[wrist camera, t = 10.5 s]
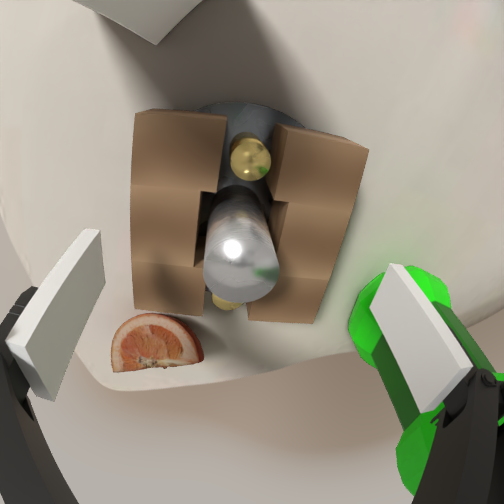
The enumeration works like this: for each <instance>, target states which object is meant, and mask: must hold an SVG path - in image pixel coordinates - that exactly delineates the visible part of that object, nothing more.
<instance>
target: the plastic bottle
mask: <svg viewBox="0 0 504 504" xmlns="http://www.w3.org/2000/svg"><path fill="white" fill-rule="evenodd" d="M404 268H405V269H406V271H407V272H408V273H409V274H410V276H411V277H412V278H413V280H414V281H415V282H416V283H417V285H418V286H419V287H420V289H421V290H422V291H423V293H424V294H425V295H426V297H427V298H428V300H429V301H430V302H431V304H432V305H433V306H434V308H435V309H436V311H437V312H438V313H439V315H440V316H441V318H442V319H443V321H444V322H445V323H446V324H447V325H449V326H450V327H451V328H452V329H453V331H454V332H455V334H456V335H457V337H458V339H459V340H460V341H461V343H462V346H464V347H465V349H466V350H467V352H468V354H469V355H470V357H471V358H472V360H473V362H474V363H475V365H476V366H477V368H478V369H481V368H484V369H487V370H489V371H490V372H492V374H493V375H494V376H495V377H496V379H497V380H498V381H504V373H496V371H495V370H494V368H493V367H492V365H491V364H490V362H489V361H488V359H487V358H486V356H485V355H484V353H483V352H482V350H481V349H480V348H479V346H478V345H477V343H476V342H475V341H474V339H473V338H472V336H471V335H470V334H469V332H468V331H467V330H466V328H465V327H464V326H463V324H462V323H461V322H460V320H459V319H458V318H457V316H456V315H455V314H454V312H453V311H452V310H451V303H450V297H449V293H448V289H447V286H446V285H445V284H444V283H443V282H442V281H441V280H440V279H439V278H437V277H435V276H434V275H432V274H430V273H428V272H426V271H424V270H422V269H420V268H417V267H414V266H407V267H404ZM385 273H386V272H384V273H381V274H379V275H378V276H377V277H376V278H375V279H373V280H372V281H371V282H370V283H369V284H368V285H367V286H366V287H365V288H364V289H363V290H362V291H361V292H360V294H359V296H358V299H357V301H356V304H355V306H354V309H353V311H352V314H351V316H350V319H349V329H348V330H349V332H350V335H351V337H352V339H353V341H354V344H355V346H356V348H357V350H358V352H359V354H360V356H361V358H362V359H363V360H364V361H366V362H367V363H368V364H369V365H371V366H373V367H375V368H376V369H378V371H379V374H380V376H381V378H382V380H383V382H384V385H385V387H386V390H387V392H388V394H389V397H390V399H391V401H392V403H393V406H394V408H395V410H396V413H397V415H398V418H399V420H400V423H401V425H402V428H403V430H404V432H403V434H402V436H401V439H400V441H399V443H398V445H397V447H396V456H397V467H398V470H399V473H400V476H401V479H402V482H403V484H404V486H405V487H406V488H407V489H408V490H409V492H410V493H411V494H412V495H413V496H415V494H416V491H417V489H418V486H419V483H420V480H421V478H422V475H423V472H424V469H425V466H426V463H427V460H428V457H429V453H430V450H431V446H432V443H433V439H434V436H435V432H436V428H437V426H435V424H436V423H437V422H438V420H439V419H436V420H435V421H434V422H433V423H432V424H431V423H430V422H431V420H432V419H433V418H434V417H435V416H436V415H437V414H438V413H439V412H440V411H441V410H442V409H443V408H444V407H445V405H444V403H443V401H442V402H441V403H440V404H439V405H438V406H437V407H436V408H435V409H434V410H433V411H429V412H425V413H420V411H419V409H418V406H417V404H416V402H415V400H414V397H413V395H412V393H411V391H410V388H409V386H408V384H407V382H406V380H405V378H404V375H403V373H402V371H401V369H400V367H399V365H398V363H397V361H396V359H395V357H394V355H393V353H392V351H391V349H390V347H389V345H388V343H387V341H386V339H385V337H384V335H383V333H382V331H381V329H380V327H379V325H378V323H377V321H376V319H375V317H374V315H373V313H372V311H371V310H370V308H369V307H370V305H371V303H372V301H373V299H374V297H375V295H376V292H377V290H378V288H379V286H380V284H381V282H382V279H383V277H384V275H385ZM503 423H504V416H503V417H502V418H501V419H500V420H499V421H498V424H499V426H500V425H502V424H503Z"/></svg>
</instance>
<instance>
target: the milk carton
mask: <svg viewBox="0 0 504 504" xmlns="http://www.w3.org/2000/svg"><path fill="white" fill-rule="evenodd" d="M73 1H75V2H77V3H79V4H81V5H83V6H85V7H87V8H89V9H91V10H93V11H95V12H97V13H99V14H101V15H103V16H105V17H107V18H109V19H111V20H112V21H114V22H116V23H118V24H120V25H121V26H123V27H125V28H127V29H129V30H130V31H132V32H134V33H135V34H137V35H139V36H141V37H142V38H144V39H146V40H147V41H149V42H151V43H152V44H154V45H157V44H158V43H159V42H160V41H161V40H162V39H163V38H164V37H165V36H166V35H167V34H168V33H169V32H170V31H171V30H172V29H173V28H174V27H175V26H176V25H177V24H178V23H179V22H180V21H181V20H182V19H183V18H184V17H185V16H186V15H187V14H188V13H189V12H190V11H191V10H192V9H193V8H195V7H196V6H197V5H198V4H199V3H200V2H201V1H202V0H73Z"/></svg>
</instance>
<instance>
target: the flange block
mask: <svg viewBox="0 0 504 504" xmlns="http://www.w3.org/2000/svg"><path fill="white" fill-rule="evenodd" d="M226 123H227V115H222V114H214V113H205V112H194V111H183V110H170V109H150V110H146V111H142V112H139V113H135V121H134V132H133V146H132V164H131V194H130V232H131V263H132V281H133V295H134V307H135V309H141V310H149V311H157V312H165V313H174V314H183V315H193V316H203V305H204V295H205V285H206V283H205V281H204V277H203V266H204V256H205V246H206V236H198V233H199V223H200V214H201V205H202V196H203V191H206V192H215V193H216V191H217V184H218V177H219V170H220V163H221V156H222V149H223V142H224V136H225V130H226ZM368 153H369V149H367V148H365V147H363V146H361V145H359V144H357V143H354V142H352V141H350V140H348V139H346V138H344V137H340V136H336V135H332V134H328V133H324V132H319V131H315V130H310V129H306V128H301V127H296V126H291V125H286V124H280V123H276V124H275V129H274V134H273V139H272V144H271V149H270V157H271V166H270V169H269V171H268V172H267V173H266V175H265V180H266V182H267V185H268V187H269V189H270V192H271V194H272V196H273V202H272V207H271V212H270V217H269V221H268V229H269V232H270V236H271V239H272V243H273V246H274V249H275V253H276V256H277V260H278V263H279V277H278V280H277V282H276V284H275V286H274V287H273V288H272V290H271V291H270V292H269V293H267V294H266V295H265V296H263V297H261V298H259V299H257V300H255V301H251V302H246V303H247V312H248V320H252V321H268V322H286V323H309V324H313V322H314V319H315V317H316V314H317V312H318V309H319V306H320V304H321V301H322V298H323V296H324V293H325V290H326V287H327V285H328V282H329V279H330V276H331V274H332V271H333V268H334V265H335V262H336V259H337V256H338V253H339V250H340V247H341V244H342V241H343V238H344V235H345V232H346V229H347V226H348V223H349V219H350V216H351V213H352V210H353V206H354V203H355V200H356V196H357V193H358V189H359V186H360V182H361V179H362V175H363V172H364V168H365V164H366V161H367V157H368Z"/></svg>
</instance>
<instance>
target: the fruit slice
mask: <svg viewBox="0 0 504 504" xmlns="http://www.w3.org/2000/svg"><path fill="white" fill-rule="evenodd" d="M203 360H204V354H203V350H202V346H201V343H200V341H199V340H198V338H197V336H196V335H195V333H194V332H193V331H192V330H191V329H190V328H189V327H188V326H187V325H185V324H184V323H183V322H182V321H180V320H178V319H175V318H173V317H170V316H166V315H163V314H156V313H146V314H141V315H137V316H135V317H133V318H131V319H129V320H128V321H126V322H124V323H123V324H122V325H121V326H120V328H119V329H118V330H117V332H116V333H115V335H114V338H113V341H112V347H111V362H112V368H113V372H126V371H136V370H141V369H147V368H151V367H152V368H153V367H156V368H157V367H163V368H164V369H165V368H167V366H170V367H177V366H183V365H190V364H195V363H200V362H201V361H203Z"/></svg>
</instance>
